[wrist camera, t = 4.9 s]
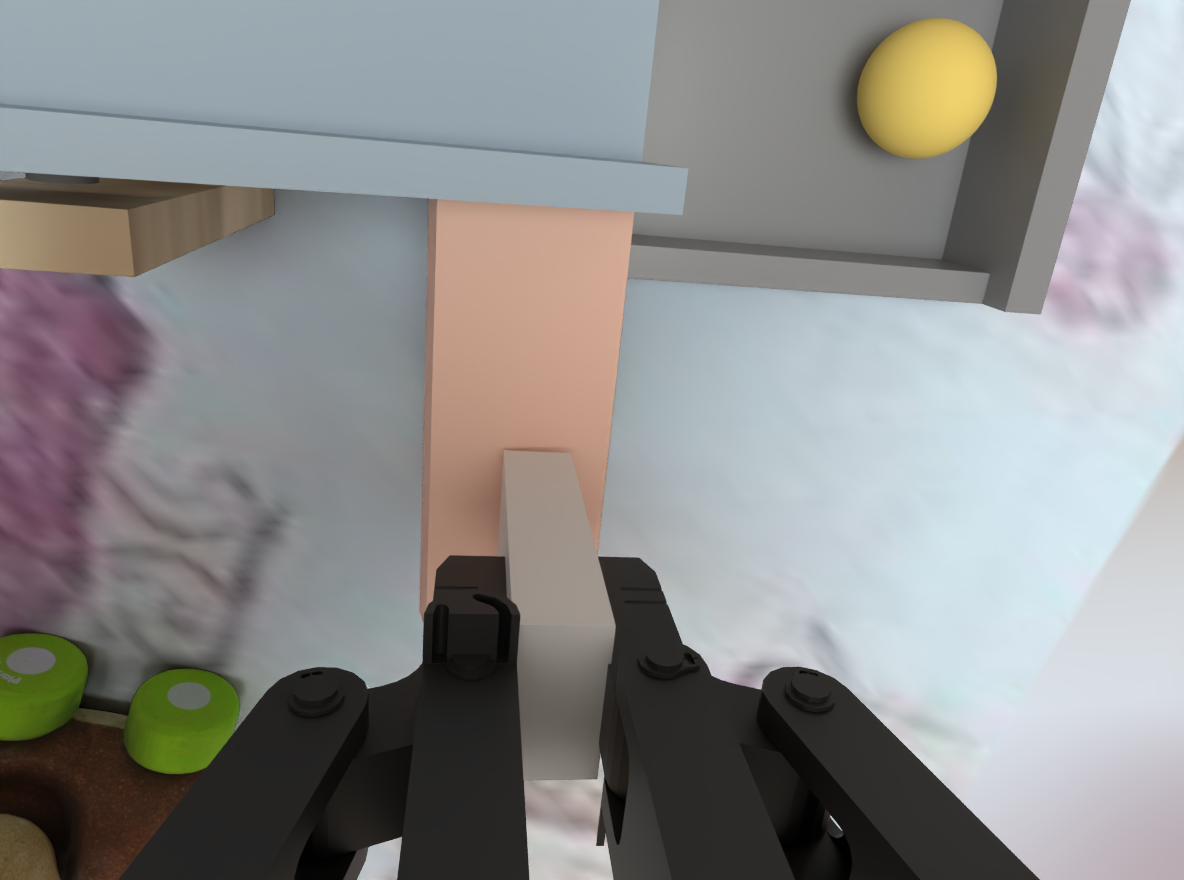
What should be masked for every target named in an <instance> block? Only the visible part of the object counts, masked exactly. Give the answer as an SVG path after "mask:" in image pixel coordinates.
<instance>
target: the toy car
mask: <svg viewBox="0 0 1184 880" xmlns="http://www.w3.org/2000/svg"><path fill="white" fill-rule="evenodd" d="M87 676H88V665H87V660H86V657H85V656H84V654H83V653H82V652H81V651H80V650H79V648H78V647H76V646H75V645H73V644H72V643H70V642H69V641H67V640H65V639H63V638H60V637H57V636H53V635H48V634H38V633H28V634H15V635H10V636H5V637H1V638H0V880H118V879H119V878H120V877H121V876H122V874H123V873H124V872H125V871H126V869H127V868H128V867H129V865H130V864H131V863H132V862H133V860H134V859H135V858H136V857H137V855H138V854H139V853H140V852H141V850H142V849H143V848H144V846H145V845H146V844H147V843H148V841H149V840H150V839H151V838H152V836H153V835H154V834H155V832H156V831H157V830H158V829H159V827H160V826H161V825H162V824H163V822H164V821H165V820H166V818H167V817H168V816H169V815H170V813H171V812H172V811H173V810H174V808H175V807H176V806H177V805H178V803H179V802H180V801H181V799H182V798H183V797H184V796H185V794H186V793H187V792H188V791H189V789H190V788H191V787H192V785H193V784H194V783H195V782H196V780H197V779H198V778H199V777H200V775H201V774H202V773H203V772H204V770H205V769H206V768H207V766H208V765H209V764H210V763H211V761H212V760H213V759H214V758H215V756H216V755H217V754H218V752H219V751H220V750H221V749H222V747H223V746H224V745H225V744H226V742H227V741H228V740H229V739H230V737H231V736H232V734H233V731H234V728H235V725H236V722H237V719H238V715H239V708H240V703H239V699H238V696H237V693H236V691H235V690H234V688H233V687H232V686H231V685H230V684H229V683H228V682H227V681H226V680H224V679H223V678H222V677H220V676H218V675H216V674H214V673H212V672H208V671H204V670H199V669H175V670H168V671H165V672H162V673H159V674H157V675H155V676H153V677H152V678H150V679H149V680H147V681H146V682H144V683H143V684H142V685H141V686H140V687H139V688H138V690H137V691H136V693H135V695H134V697H133V700H132V702H131V706H130V710H129V714H128V716H127V715H122V714H117V713H111V712H104V711H98V710H91V709H83V708H78V707H79V705H80V702H81V699H82V695H83V691H84V687H85V683H86V679H87Z"/></svg>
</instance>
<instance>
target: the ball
mask: <svg viewBox="0 0 1184 880" xmlns="http://www.w3.org/2000/svg"><path fill="white" fill-rule="evenodd" d="M996 86H997V71H996V64H995V60H994V57H993V54H992V52H991V50H990V48H989V46H988V44H987V43H986V41H985V40H984V39H983V38H982V37H981V35H980V34H978V33H977V32H976V31H975V30H974V29H972V28H971V27H969V26H967V25H966V24H963V23H961V22H959V21H955V20H951V19H945V18H929V19H923V20H919V21H916V22H912V23H910V24H908V25H905V26H903V27H901V28H900V29H898V30H896V31H895V32H893V33H892V34H891V35H889V36H888V37H887V38H886V39H885V40H883V41H882V42H881V43H880V44H879V45H878V47H877V48H876V49H875V50H874V52H873V53H872V54H871V56H870V58H869V59H868V61H867V63H866V65H865V67H864V69H863V71H862V74H861V77H860V80H859V84H858V91H857V106H858V112H859V116H860V120H861V122H862V125H863V127H864V129H865V131H866V132H867V134H868V135H869V136H870V138H871V139H872V140H873V141H874V142H875V143H876V144H877V145H878V146H879V147H881V148H882V149H884V150H885V151H887V152H889V153H891V154H893V155H896V156H900V157H904V158H910V159H922V158H930V157H934V156H938V155H941V154H943V153H946V152H948V151H950V150H952V149H954V148H956V147H957V146H959V145H960V144H962V143H963V142H964V141H966V140H967V139H968V138H969V137H970V136H971V135H972V134H973V133H974V132H975V131H976V130H977V129H978V128H979V126H980V125H981V124H982V122H983V121H984V119H985V118H986V116H987V114H988V112H989V110H990V108H991V106H992V103H993V100H994V96H995V92H996Z"/></svg>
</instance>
